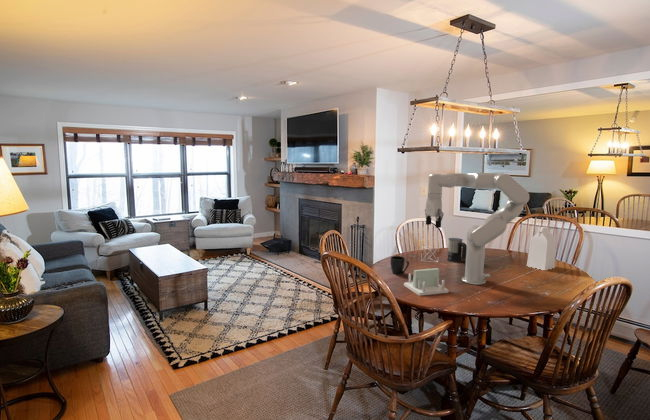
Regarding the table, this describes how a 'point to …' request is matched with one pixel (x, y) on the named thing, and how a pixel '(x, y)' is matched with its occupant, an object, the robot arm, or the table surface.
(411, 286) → the dish rack
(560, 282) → the table surface
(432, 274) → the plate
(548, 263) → the milk
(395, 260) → the mug
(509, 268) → the table surface
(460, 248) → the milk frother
